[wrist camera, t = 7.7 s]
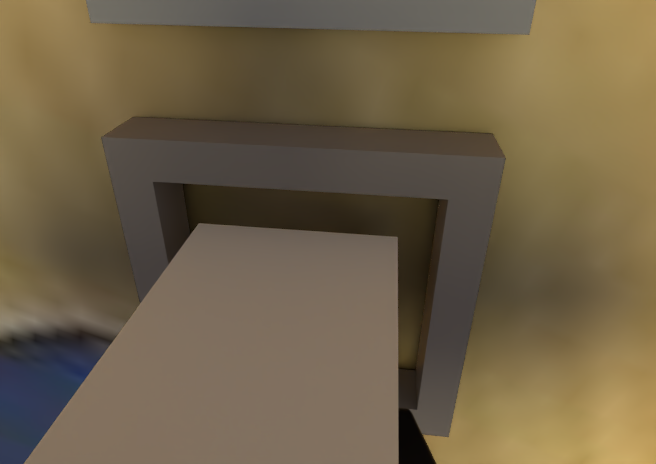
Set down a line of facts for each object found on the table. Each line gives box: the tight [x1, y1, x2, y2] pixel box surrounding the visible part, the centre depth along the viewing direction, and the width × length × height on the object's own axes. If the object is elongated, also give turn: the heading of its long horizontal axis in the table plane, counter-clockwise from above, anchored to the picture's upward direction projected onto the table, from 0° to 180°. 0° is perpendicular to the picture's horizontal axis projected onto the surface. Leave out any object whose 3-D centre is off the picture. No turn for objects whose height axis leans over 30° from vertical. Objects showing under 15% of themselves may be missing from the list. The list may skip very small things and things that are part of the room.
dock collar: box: [101, 117, 506, 437], centre depth 13 cm, size 9×9×2 cm
